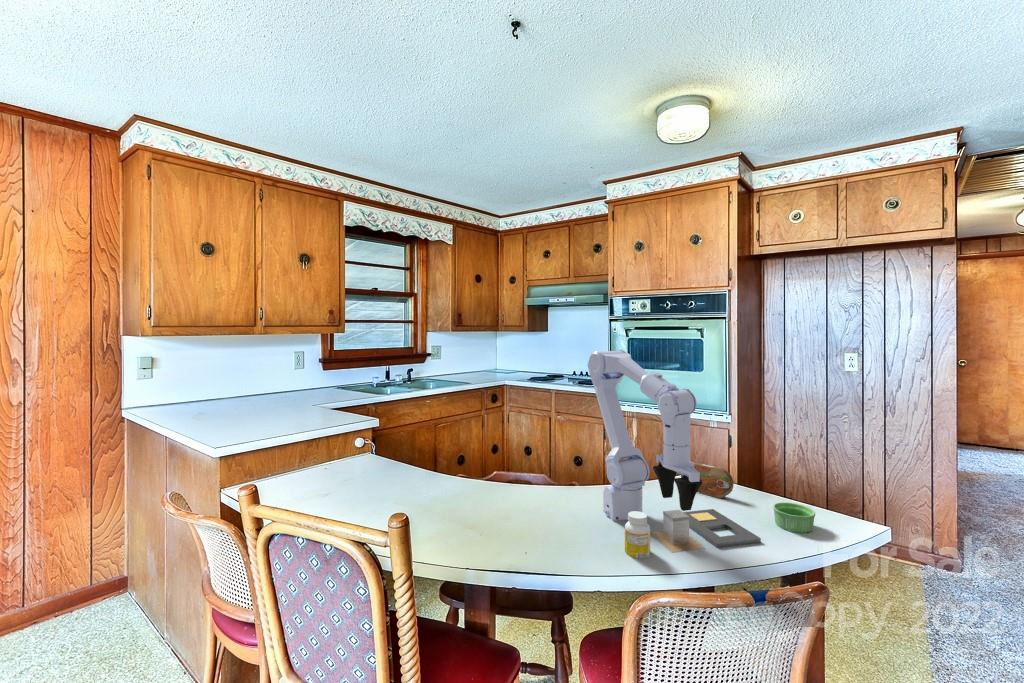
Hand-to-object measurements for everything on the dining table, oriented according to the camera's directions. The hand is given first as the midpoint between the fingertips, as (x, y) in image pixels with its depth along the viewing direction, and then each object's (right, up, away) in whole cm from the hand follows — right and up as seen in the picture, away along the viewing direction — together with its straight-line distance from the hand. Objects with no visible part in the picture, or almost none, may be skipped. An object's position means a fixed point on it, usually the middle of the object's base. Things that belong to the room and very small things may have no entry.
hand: (676, 503), depth 107 cm
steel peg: (0, -8, 0) cm, 8 cm away
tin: (+21, -9, +34) cm, 40 cm away
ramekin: (+33, -10, +11) cm, 36 cm away
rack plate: (+11, -10, +6) cm, 16 cm away
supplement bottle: (-10, -10, -5) cm, 15 cm away
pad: (0, -10, 0) cm, 10 cm away
